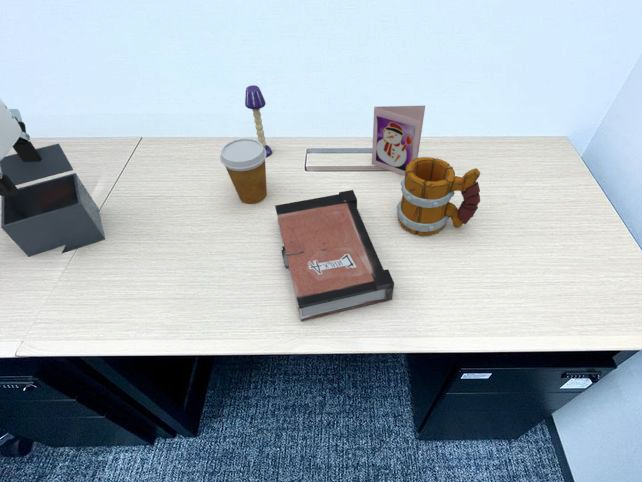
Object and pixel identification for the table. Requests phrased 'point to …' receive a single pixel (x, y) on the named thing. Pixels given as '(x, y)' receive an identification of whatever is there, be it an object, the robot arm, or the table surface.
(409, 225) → the mug
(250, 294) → the table surface
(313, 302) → the book
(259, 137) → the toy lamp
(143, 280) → the table surface
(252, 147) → the disposable coffee cup
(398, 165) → the greeting card
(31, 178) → the flap
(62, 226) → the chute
